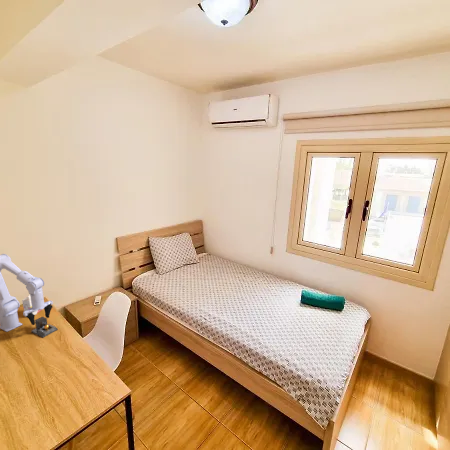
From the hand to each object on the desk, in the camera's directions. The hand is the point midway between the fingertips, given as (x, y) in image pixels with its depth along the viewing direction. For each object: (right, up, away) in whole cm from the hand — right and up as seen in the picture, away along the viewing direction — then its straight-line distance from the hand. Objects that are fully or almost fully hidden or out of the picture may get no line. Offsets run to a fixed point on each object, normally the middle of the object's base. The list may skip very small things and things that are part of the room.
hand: (40, 320), depth 143 cm
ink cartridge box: (-18, -2, +18) cm, 25 cm away
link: (+3, -5, 0) cm, 6 cm away
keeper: (+2, -6, 0) cm, 6 cm away
